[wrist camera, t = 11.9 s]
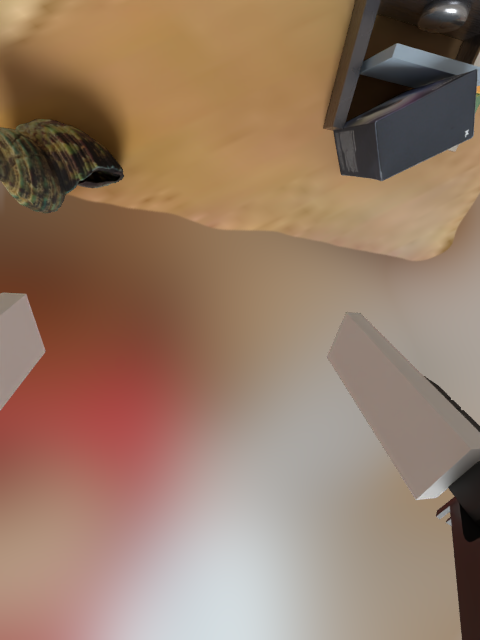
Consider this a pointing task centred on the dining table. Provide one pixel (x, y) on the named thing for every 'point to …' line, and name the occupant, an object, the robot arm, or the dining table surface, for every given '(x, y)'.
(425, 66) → the blue-grey flat panel
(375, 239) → the dining table surface
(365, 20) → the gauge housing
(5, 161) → the seashell
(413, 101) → the small box
